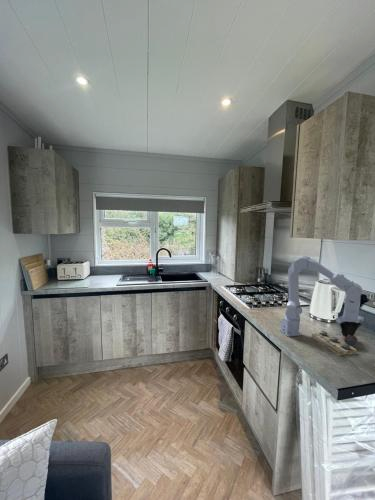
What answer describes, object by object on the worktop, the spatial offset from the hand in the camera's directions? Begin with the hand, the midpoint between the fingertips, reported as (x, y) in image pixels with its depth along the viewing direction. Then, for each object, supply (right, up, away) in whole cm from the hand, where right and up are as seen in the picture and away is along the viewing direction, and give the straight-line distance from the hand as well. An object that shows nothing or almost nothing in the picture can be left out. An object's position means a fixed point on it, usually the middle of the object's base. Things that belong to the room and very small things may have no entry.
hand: (347, 335), depth 107 cm
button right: (0, -7, +1) cm, 7 cm away
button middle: (-2, -6, +7) cm, 9 cm away
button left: (-3, -5, +13) cm, 15 cm away
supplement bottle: (+10, -4, +14) cm, 18 cm away
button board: (-3, -7, +7) cm, 11 cm away
